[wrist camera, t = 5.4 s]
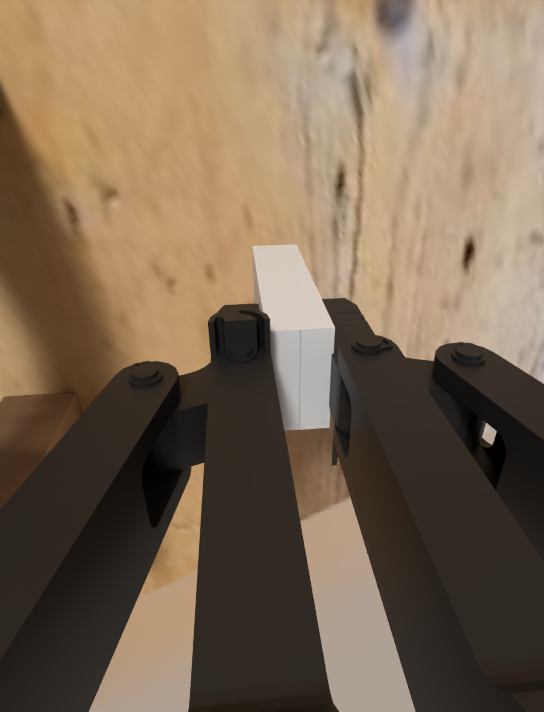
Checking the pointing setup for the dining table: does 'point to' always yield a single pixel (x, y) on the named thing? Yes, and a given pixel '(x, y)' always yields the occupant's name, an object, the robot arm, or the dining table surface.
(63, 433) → the bridge
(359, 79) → the dining table surface
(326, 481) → the dining table surface
